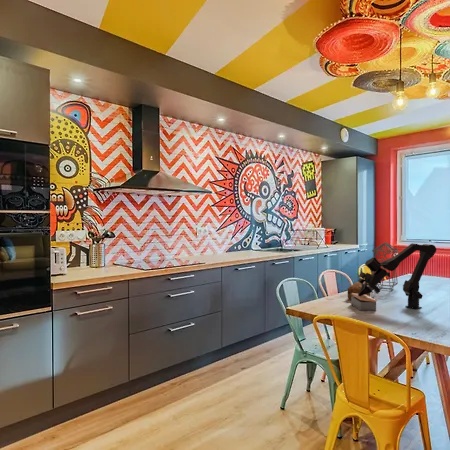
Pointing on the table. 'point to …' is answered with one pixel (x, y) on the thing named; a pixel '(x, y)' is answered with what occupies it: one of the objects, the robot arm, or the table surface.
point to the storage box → (363, 304)
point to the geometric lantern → (383, 261)
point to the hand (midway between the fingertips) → (358, 295)
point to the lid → (364, 297)
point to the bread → (355, 290)
